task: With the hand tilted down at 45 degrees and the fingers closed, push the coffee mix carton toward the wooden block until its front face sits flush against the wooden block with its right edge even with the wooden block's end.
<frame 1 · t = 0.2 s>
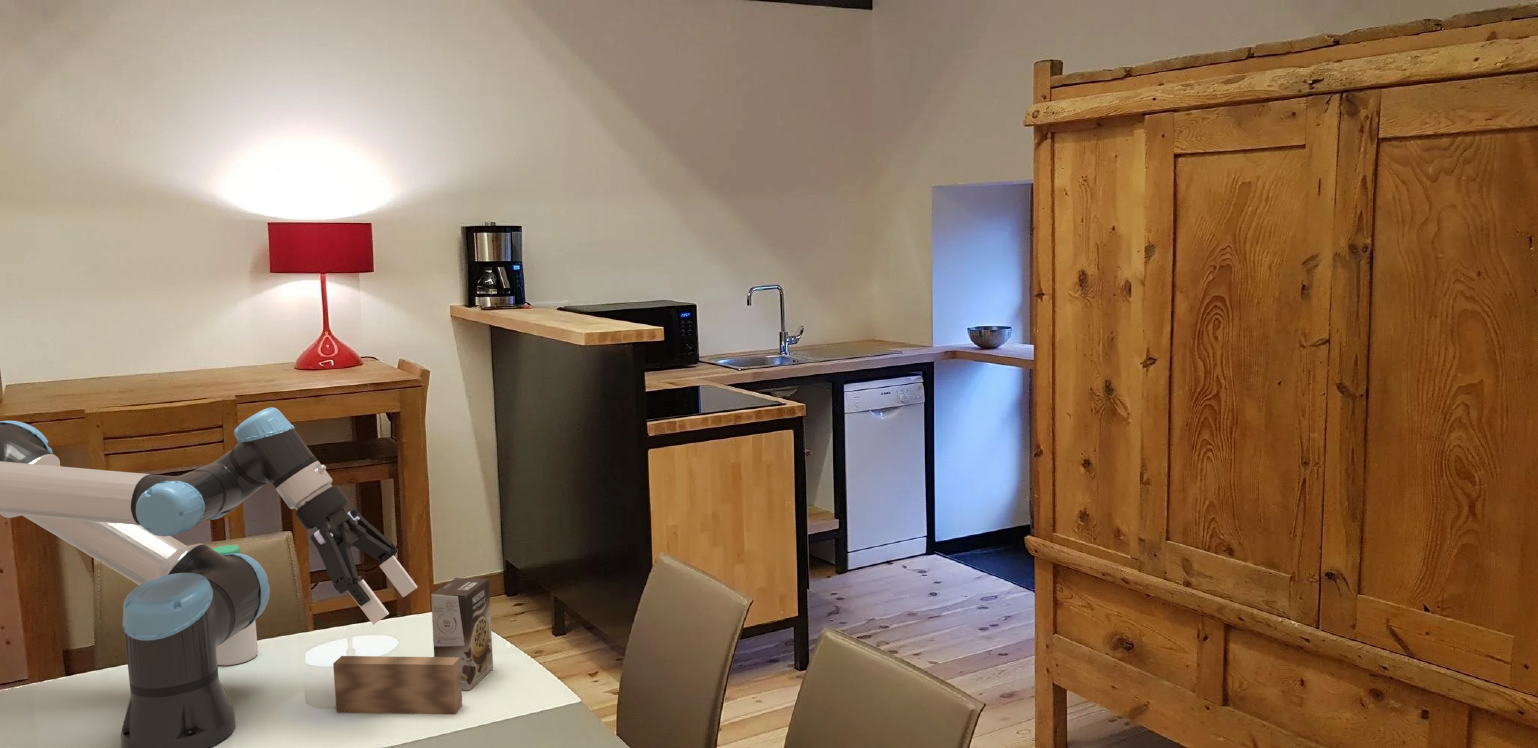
hand: (396, 605, 179), 16 cm above the table, tool tilted 35°, fingers open, 13 cm apart
wooden block: (399, 709, 178), on the table
milk bottle: (234, 659, 200), on the table
coffee box: (465, 679, 190), on the table
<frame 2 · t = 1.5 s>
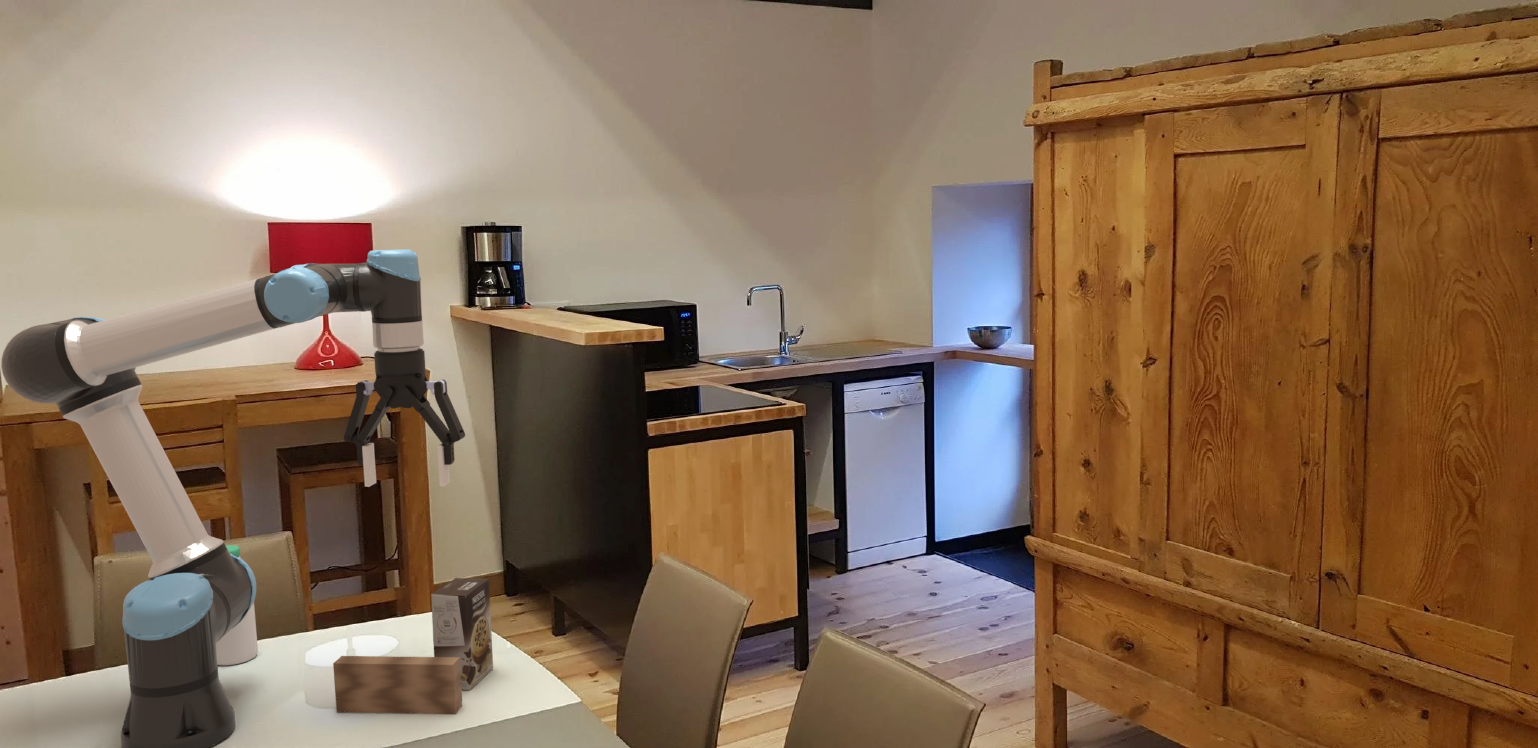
hand: (407, 484, 181), 34 cm above the table, tool pointing down, fingers open, 11 cm apart
nothing on the table moved.
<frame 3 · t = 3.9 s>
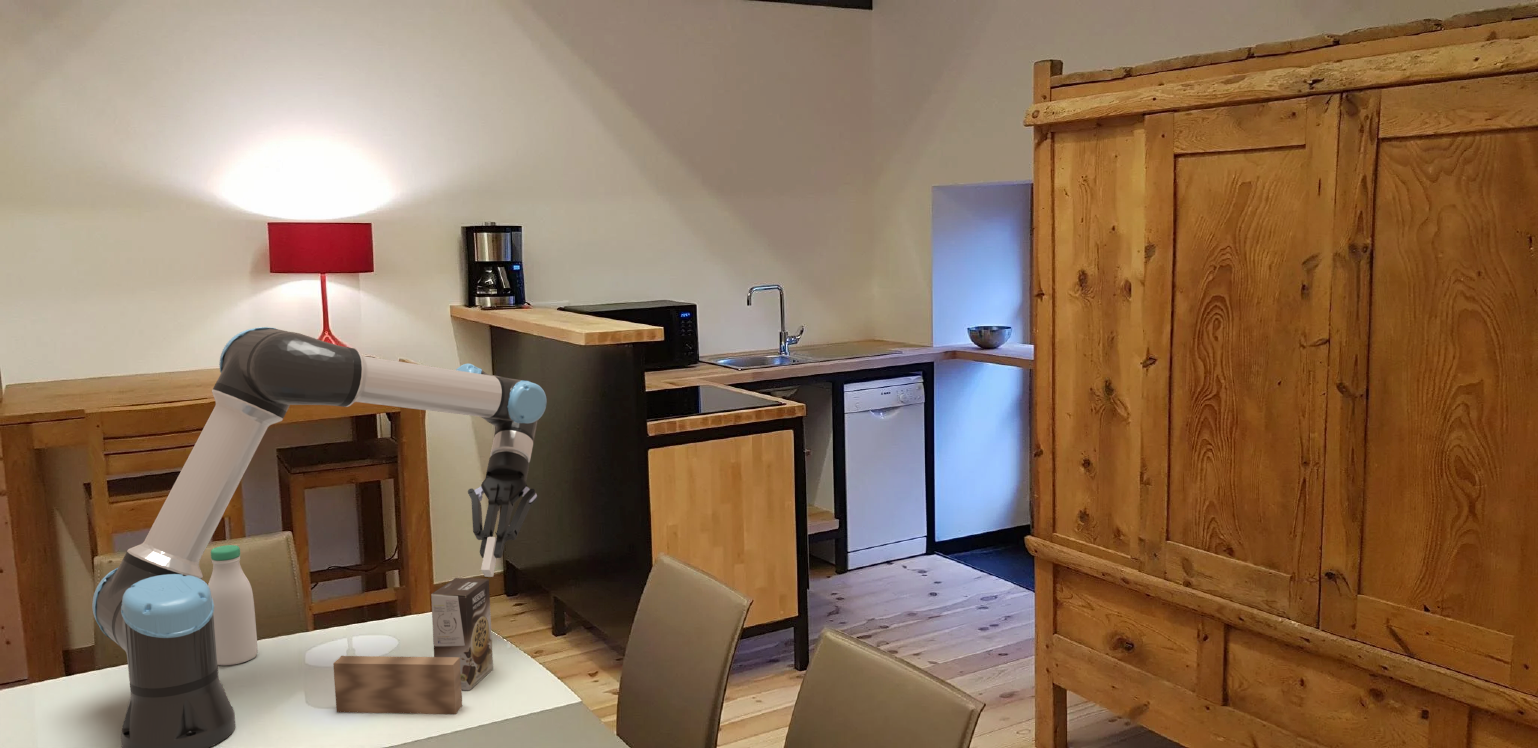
hand: (487, 573, 201), 14 cm above the table, tool tilted 45°, fingers closed
nothing on the table moved.
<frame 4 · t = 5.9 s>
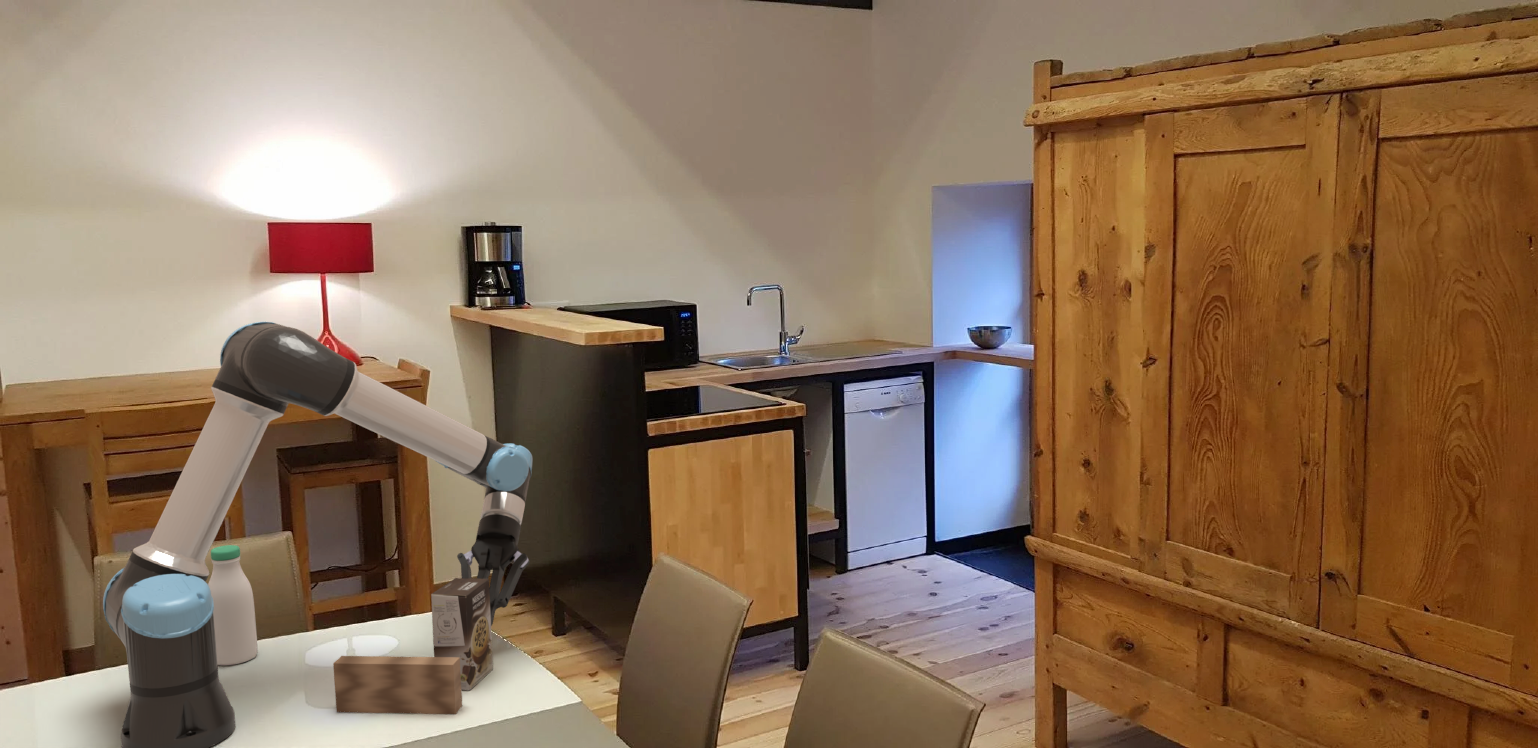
hand: (476, 643, 195), 4 cm above the table, tool tilted 45°, fingers closed
coffee box: (465, 680, 190), on the table, touching gripper
everything else where it was.
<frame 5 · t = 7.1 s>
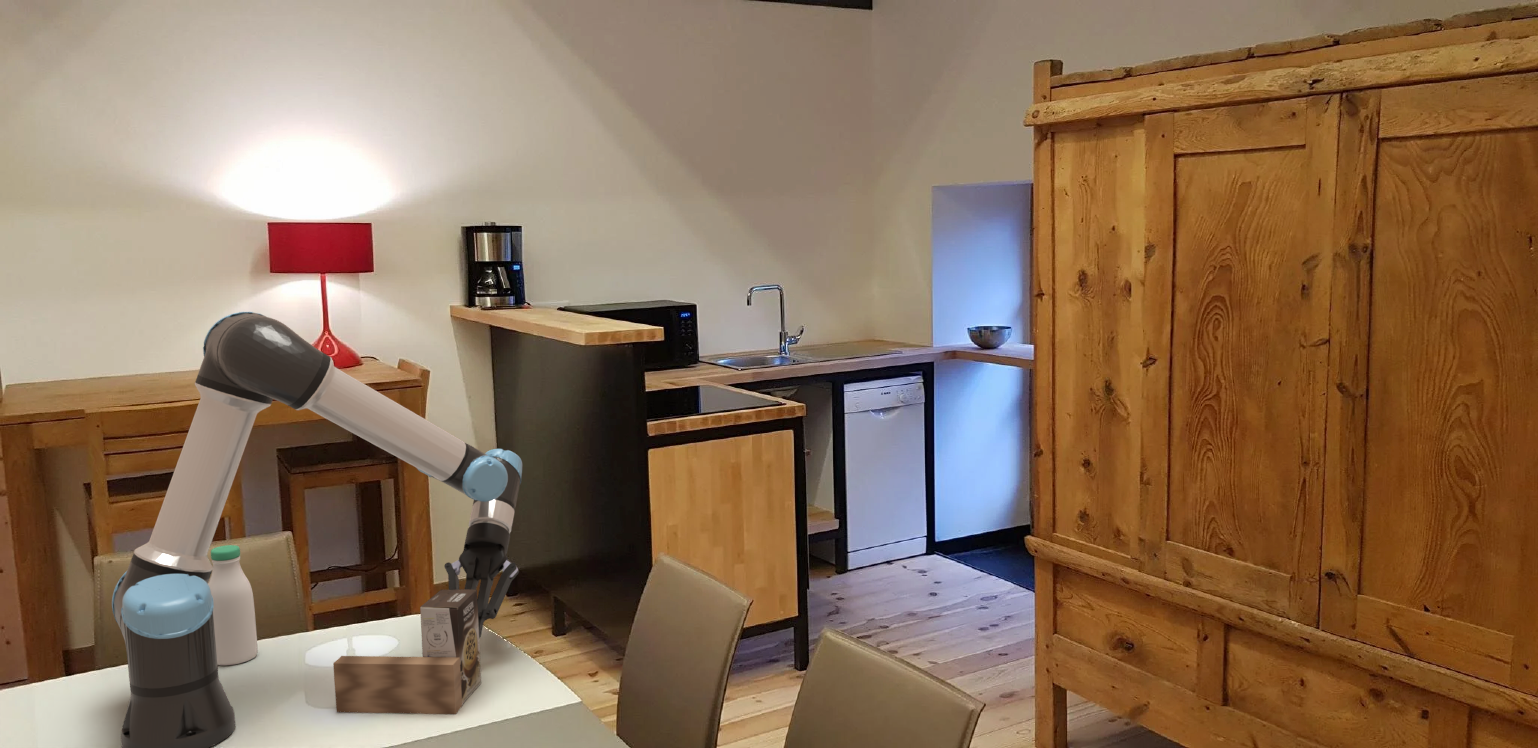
hand: (464, 656, 189), 4 cm above the table, tool tilted 45°, fingers closed
coffee box: (454, 694, 184), on the table, touching wooden block, gripper
everything else where it was.
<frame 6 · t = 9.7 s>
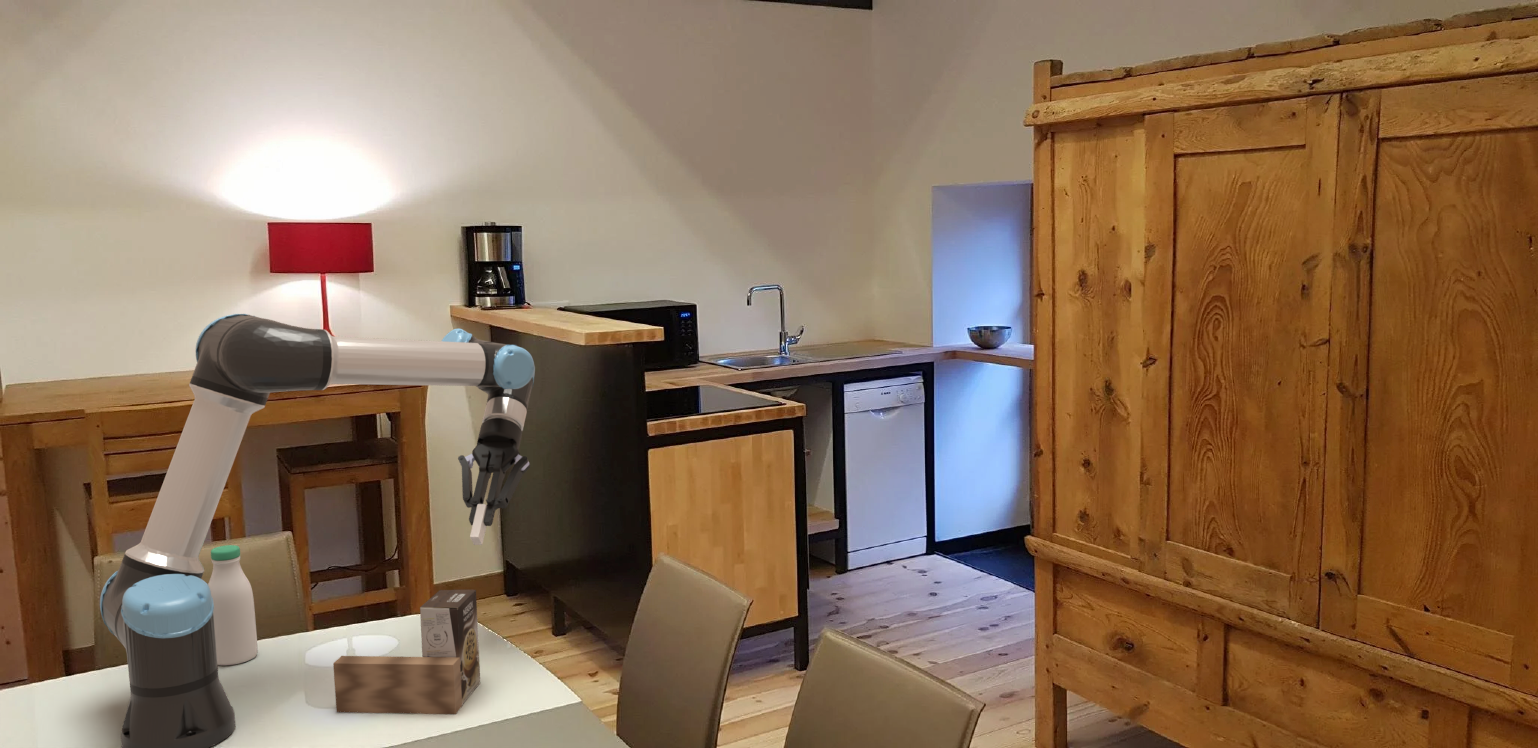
hand: (476, 540, 194), 21 cm above the table, tool tilted 45°, fingers closed
coffee box: (453, 694, 184), on the table
everything else where it was.
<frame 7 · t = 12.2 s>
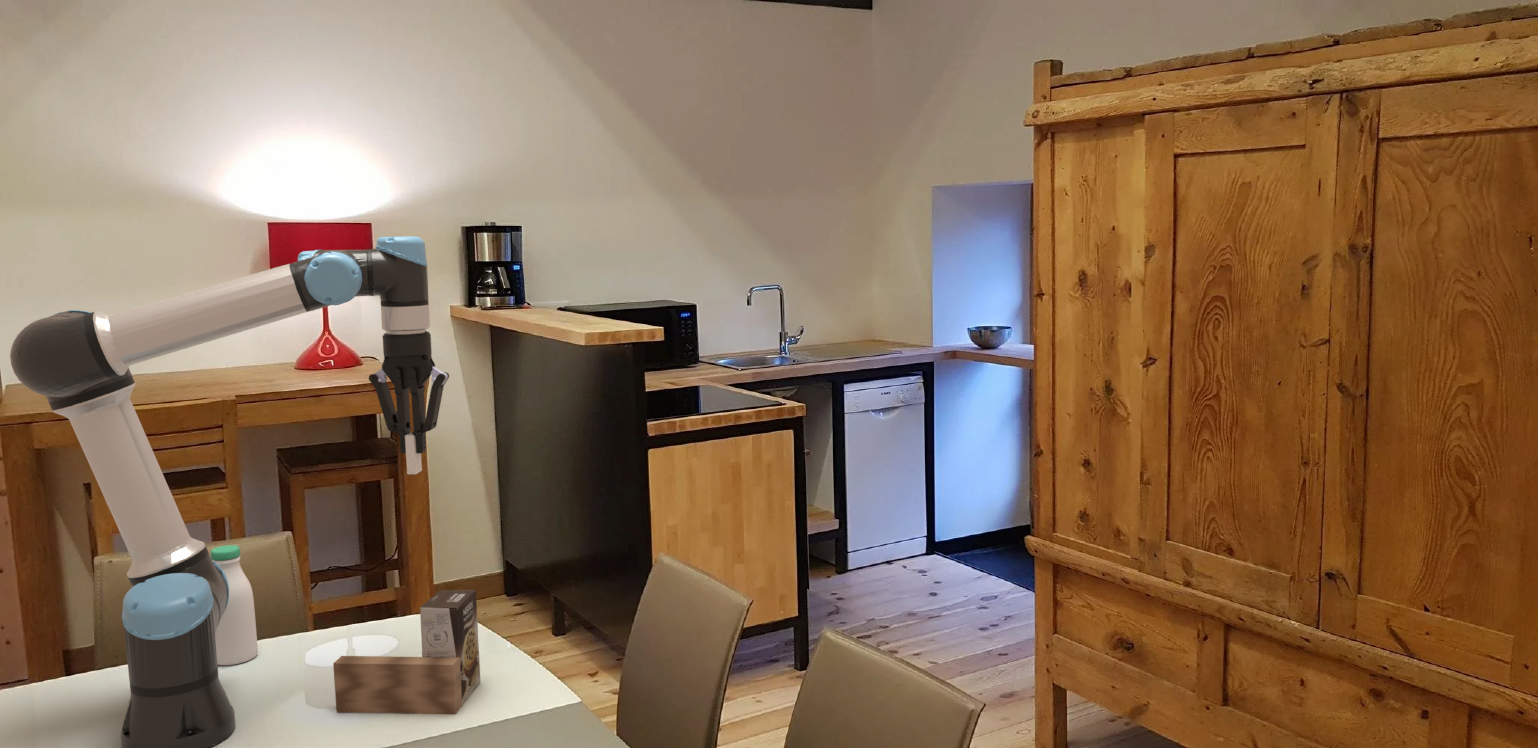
hand: (414, 472, 189), 34 cm above the table, tool pointing down, fingers closed
nothing on the table moved.
at the end: coffee box 0.1 cm from the target spot on the table beside the wooden block, on the table; coffee box tilted 0° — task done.
